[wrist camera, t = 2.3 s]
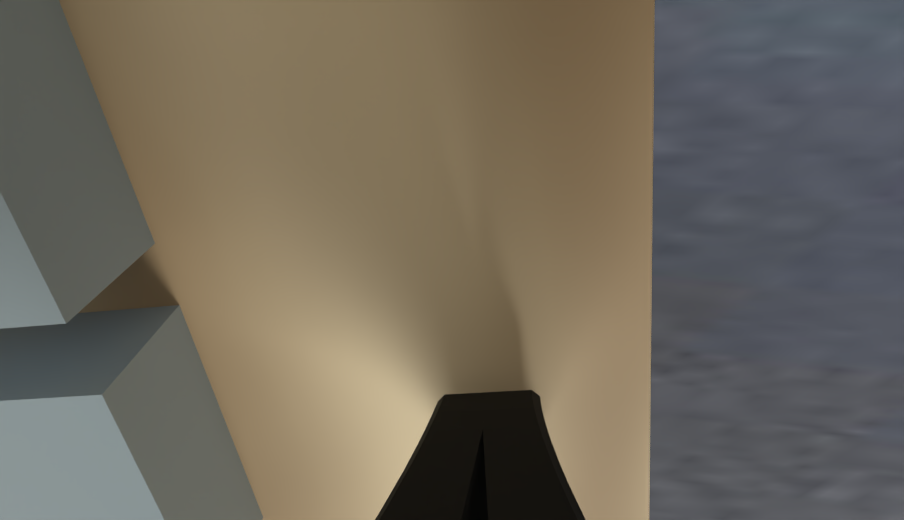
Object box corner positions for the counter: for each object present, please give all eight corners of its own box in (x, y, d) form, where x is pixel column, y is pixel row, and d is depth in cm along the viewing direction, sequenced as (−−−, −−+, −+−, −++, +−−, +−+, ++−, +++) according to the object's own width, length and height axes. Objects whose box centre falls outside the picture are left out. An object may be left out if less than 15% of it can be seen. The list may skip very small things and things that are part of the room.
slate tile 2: (179, 304, 9) (102, 394, 7) (263, 517, 11) (218, 626, 10) (-89, 326, 10) (-220, 413, 8) (37, 523, 12) (-45, 628, 10)
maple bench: (597, -338, 9) (659, -521, 5) (614, 403, 14) (648, 556, 11) (-264, -160, 10) (-659, -204, 7) (64, 431, 16) (-58, 571, 13)
